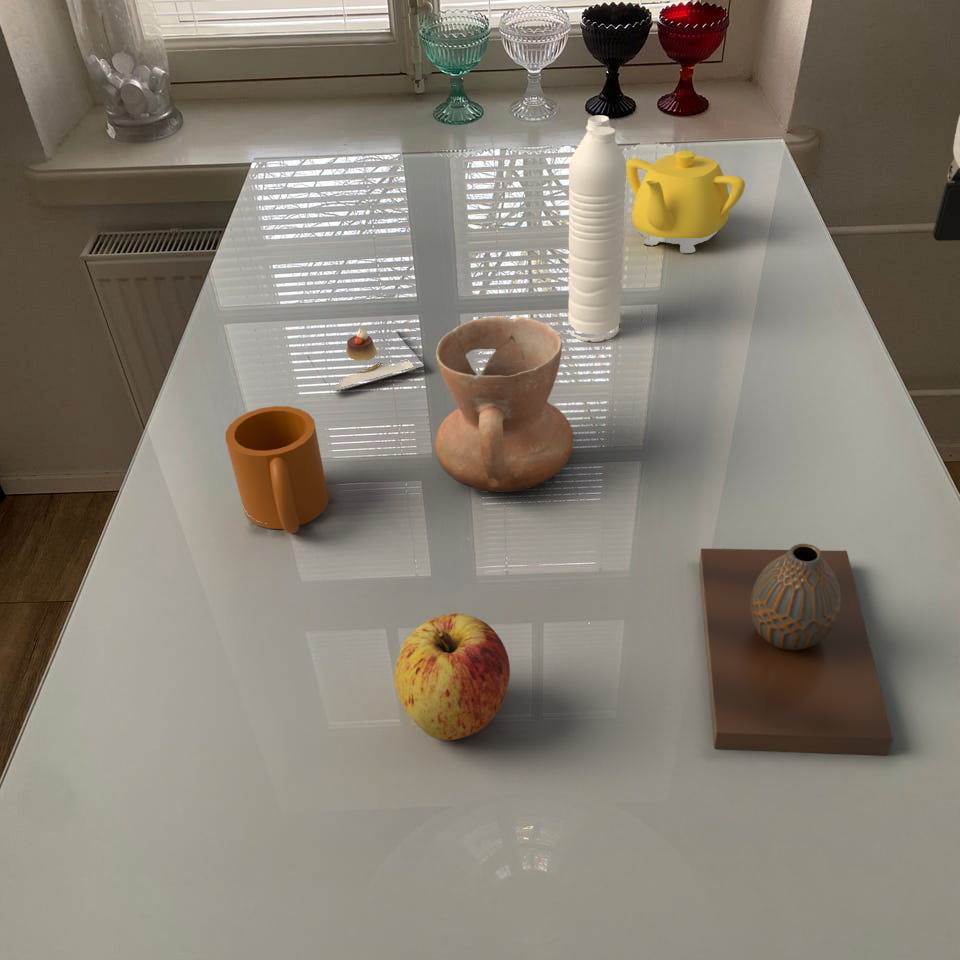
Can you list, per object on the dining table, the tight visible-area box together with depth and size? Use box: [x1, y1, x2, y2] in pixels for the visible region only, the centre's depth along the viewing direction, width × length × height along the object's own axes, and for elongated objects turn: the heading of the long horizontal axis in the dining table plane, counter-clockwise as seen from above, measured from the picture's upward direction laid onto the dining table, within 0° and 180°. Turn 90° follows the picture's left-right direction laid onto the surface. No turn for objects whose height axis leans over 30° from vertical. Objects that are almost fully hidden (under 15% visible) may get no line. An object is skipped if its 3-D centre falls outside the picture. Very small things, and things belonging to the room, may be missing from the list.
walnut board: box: [698, 548, 894, 756], centre depth 83 cm, size 22×13×2 cm, turn 174°
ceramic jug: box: [434, 315, 575, 493], centre depth 100 cm, size 18×14×14 cm
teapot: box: [626, 149, 746, 238], centre depth 138 cm, size 14×14×12 cm
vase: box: [750, 543, 841, 650], centre depth 80 cm, size 7×7×9 cm
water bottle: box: [567, 114, 627, 343], centre depth 116 cm, size 9×6×25 cm
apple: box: [394, 612, 511, 741], centre depth 77 cm, size 9×9×10 cm
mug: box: [225, 405, 330, 534], centre depth 99 cm, size 9×12×9 cm
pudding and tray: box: [336, 327, 416, 392], centre depth 121 cm, size 12×12×5 cm
